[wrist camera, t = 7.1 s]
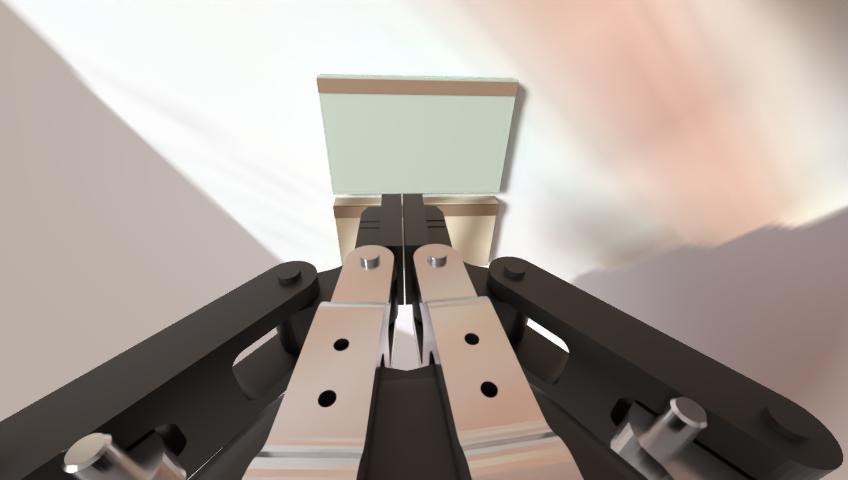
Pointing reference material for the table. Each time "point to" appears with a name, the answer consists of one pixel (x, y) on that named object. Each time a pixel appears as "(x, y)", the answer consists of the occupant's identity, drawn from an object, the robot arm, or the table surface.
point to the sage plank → (416, 132)
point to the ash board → (463, 218)
